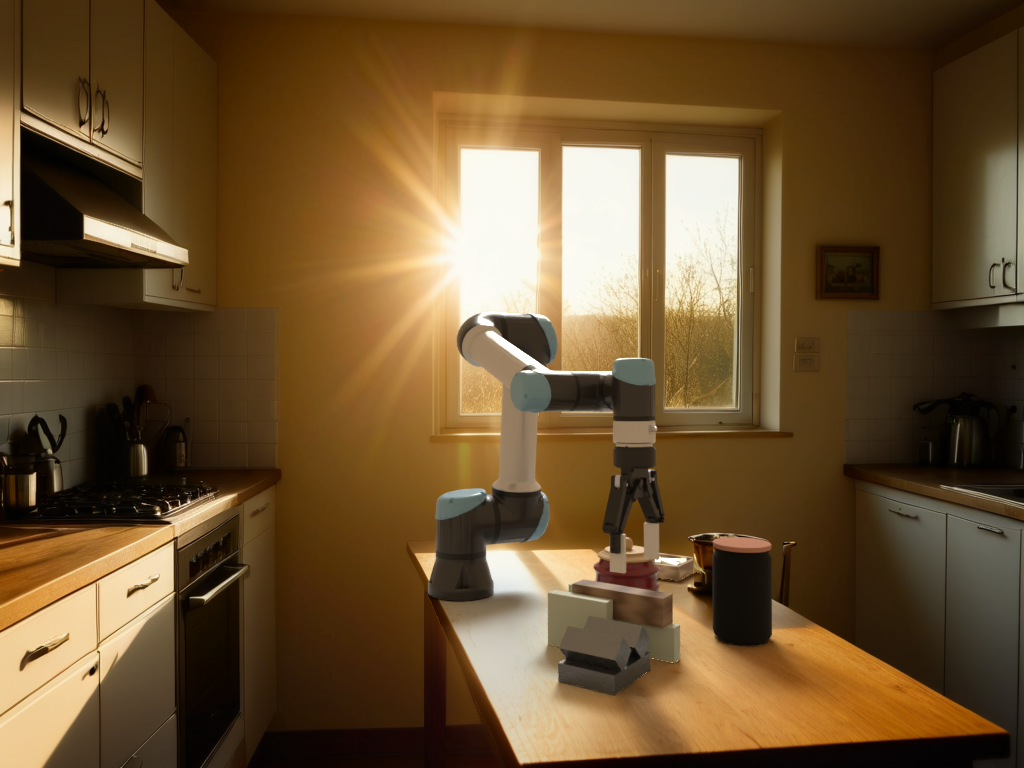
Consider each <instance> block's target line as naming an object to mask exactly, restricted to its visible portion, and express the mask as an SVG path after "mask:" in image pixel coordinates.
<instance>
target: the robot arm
mask: <svg viewBox="0 0 1024 768" xmlns="http://www.w3.org/2000/svg"><path fill="white" fill-rule="evenodd" d="M557 337H558V336H557V333H556V329H555V326H553V323H552V321H551V320H550V319H549V318H548V317H547V316H545V315H542V314H538V313H537V314H536V313H530V312H527V313H526V312H525V313H520V312H518V313H517V312H495V311H485V312H480V313H477V314H476V313H475V314H474V315H472V316H470V317H468V318H467V319H466V320H465V321H464V322H463V323H462V324H461V326H460V327H459V329H458V331H457V335H456V347H457V350H458V352H459V354H460V356H461V357H462V358H463V359H464V360H465V361H466V362H467V363H468V364H470V365H471V366H474V367H476V368H477V367H478V368H482V369H484V371H486V372H487V373H489V374H490V375H492V376H493V377H494V378H495V379H496V380H497V381H499V382H500V383H501V384H502V391H501V392H502V397H501V414H500V415H501V417H500V419H501V420H500V422H501V423H500V441H499V442H500V443H499V445H500V447H499V467H498V479H496V480H495V481H494V482H493V483H492V485H491V493H490V494H488V493H487V491H486V490H485V489H484V488H481V487H479V488H477V487H476V488H474V487H473V488H461V489H457V490H456V489H455V490H453V491H447V492H445V493H442V494H441V495H440V496H439V497H438V498H437V500H436V502H435V503H436V505H435V513H434V519H435V560H434V564H433V566H432V569H431V573H430V577H429V580H428V583H427V594H428V595H429V596H430V597H431V598H434V599H437V600H444V601H453V602H455V601H457V602H458V601H460V602H463V601H474V600H481V599H485V598H488V597H490V596H492V595H493V594H494V592H495V590H494V588H495V586H494V585H495V584H494V580H493V577H492V574H491V570H490V567H489V563H488V561H487V546H488V545H489V546H490V545H491V546H492V545H500V544H501V545H502V544H513V543H514V544H515V543H520V544H521V543H526V542H530V541H536V540H538V539H540V538H541V537H542V536H543V535H544V534H545V532H546V530H547V527H548V526H549V521H550V516H551V514H550V513H551V509H550V505H549V499H548V496H547V495H546V493H544V492H543V491H542V487H541V484H539V483H538V482H537V479H536V468H537V467H536V462H537V443H538V442H537V440H538V421H539V420H538V419H539V418H538V416H539V413H555V412H556V413H558V412H559V413H561V412H593V413H594V412H599V413H602V412H612V416H613V417H612V442H613V443H614V444H616V445H615V446H614V447H613V448H612V449H613V450H612V451H613V453H612V456H613V457H612V458H613V459H612V460H613V461H612V462H613V463H612V464H613V466H614V467H615V468H619V469H620V474H612V475H611V477H610V488H609V489H610V490H609V494H608V499H607V503H606V508H605V512H604V517H603V521H602V527H601V528H602V531H603V534H609V546H610V572H617V573H626V537H627V534H626V533H624V531H625V528H626V525H627V523H628V519H629V516H630V512H631V510H632V507H633V504H634V503H635V502H636V501H638V504H639V506H640V510H641V512H642V514H643V516H644V519H645V522H643V547H644V558H647V559H655V560H658V559H659V553H660V524H663V523H665V519H666V518H665V509H664V504H663V500H662V497H661V492H660V487H659V483H658V472H657V469H653V468H655V467H656V466H657V448H656V446H654V445H653V444H655V443H656V441H657V439H656V437H657V436H656V435H657V434H656V432H658V427H657V426H656V414H657V413H656V411H657V409H656V408H657V407H656V404H657V403H656V402H657V398H656V397H657V395H656V393H657V391H656V389H657V387H656V386H657V385H656V383H657V378H656V371H655V370H656V368H655V363H654V360H653V359H651V358H644V357H643V358H642V357H624V358H616V359H615V360H614V361H613V363H612V369H611V371H608V370H607V371H593V370H592V371H590V370H589V371H588V370H587V371H584V370H583V371H582V370H581V371H578V370H577V371H576V370H575V371H572V370H552V369H551V370H550V368H548V367H547V366H548V365H550V364H552V363H553V362H555V361H554V360H556V356H557V353H558V338H557Z"/></svg>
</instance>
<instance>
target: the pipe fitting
mask: <svg viewBox="0 0 1024 768" xmlns="http://www.w3.org/2000/svg"><path fill="white" fill-rule="evenodd" d="M685 561H687V558H680V559H677V558H661V557H659V559H658V560H655V563H658V564H666V565H673V566H677V565H679V564H681V563H683V562H685Z"/></svg>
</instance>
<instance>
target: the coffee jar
mask: <svg viewBox="0 0 1024 768" xmlns="http://www.w3.org/2000/svg"><path fill="white" fill-rule="evenodd" d="M712 546H713V547H714V549H715V550H714V552H713V553H712V632H713V634H714V635H715V636H716V639H718V640H719V641H720V640H721V642H723V643H725V642H726V643H725V644H729V643H730V644H729V645H732V644H733V645H735V646H739V647H740V646H741V647H758V646H764V645H765V644H767V643H768V642H769V641H770V639H771V638H772V635H773V584H772V583H773V581H772V580H773V574H772V573H773V570H772V569H773V563H772V562H773V561H772V560H773V559H772V556H771V554H770V551H771V549H772V544H771V542H769V541H767V540H763V539H760V538H754V537H753V538H752V537H742V536H741V537H737V536H735V537H734V536H729V537H728V536H727V537H719V538H715V539H713V540H712Z"/></svg>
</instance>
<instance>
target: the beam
mask: <svg viewBox="0 0 1024 768" xmlns="http://www.w3.org/2000/svg"><path fill="white" fill-rule="evenodd" d="M575 582H576V581H574V582H570V583H569V584H568V591H565V590H558V589H553V590H551V591H549V592H547V645H548V646H552V647H557V648H559V646H560V644H561V642H562V639H563V637H564V634H565V632H566V629H567V627H568V626H571V627H576V628H581V629H584V627H585V624H586V621H587V619H588V616H593V617H598V618H603V619H609V620H614V621H620V622H625V623H630V624H636V625H641V626H643V627H644V629H645V631H646V632H647V634H648V636H649V638H650V640H649V643H648V646H647V649H646V651H647V652H650V658H654V659H659V660H663V661H662V662H664V661H668V662H673V663H675V662H676V661H677V660H679V659H680V660H681V625H680V624H677V623H671V624H669V625H668V626H666V627H664V628H659V627H654V626H649V625H643V624H638V623H633V622H628V621H622V620H617V619H613V600H612V599H606V598H601V597H595V596H589V595H583V594H577V593H572V584H573V583H575ZM654 659H653V660H654ZM659 660H658V661H659ZM680 660H679V661H680ZM668 662H667V663H668ZM677 662H678V661H677ZM677 662H676V663H677ZM673 663H672V664H673ZM676 663H675V664H676Z"/></svg>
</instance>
